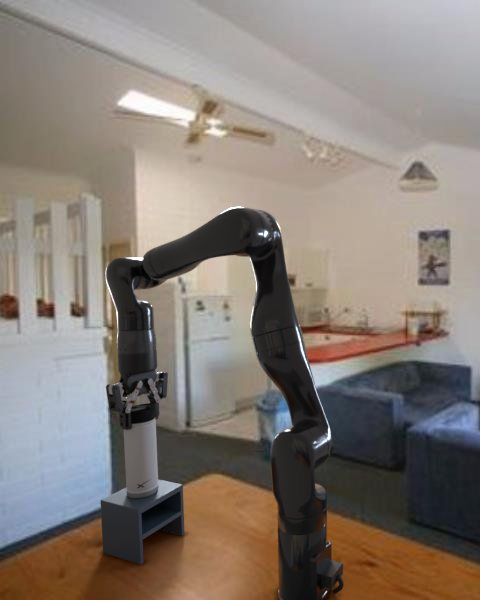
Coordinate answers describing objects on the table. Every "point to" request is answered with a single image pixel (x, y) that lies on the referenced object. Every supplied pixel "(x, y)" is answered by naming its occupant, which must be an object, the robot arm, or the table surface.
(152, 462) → the travel mug
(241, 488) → the table surface
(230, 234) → the robot arm
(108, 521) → the shelf
